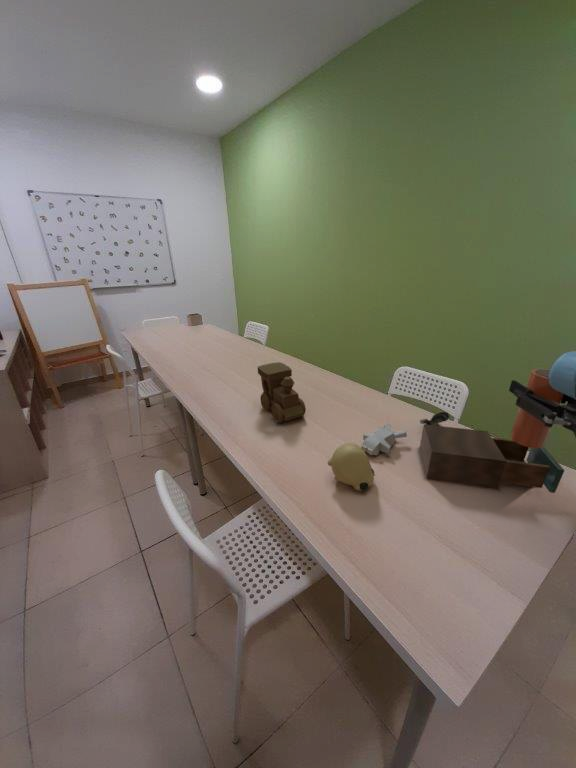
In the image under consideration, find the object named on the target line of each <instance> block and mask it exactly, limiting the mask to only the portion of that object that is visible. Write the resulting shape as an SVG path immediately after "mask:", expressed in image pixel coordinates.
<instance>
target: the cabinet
mask: <svg viewBox="0 0 576 768" xmlns="http://www.w3.org/2000/svg"><path fill="white" fill-rule="evenodd" d="M492 438H493V436H491V434H490V433H489V431H488V430H479V429H471V428H462V427H452V426H442V425H441V426H439V425H437V426H434V425H426V424H423V427H422V432H421V438H420V443H419V453H420V458H421V462H422V466H423V470H424V475H425V478H426V479H427V480H433V481H434V480H435V481H438V482H439V481H440V482H448V483H455V484H460V485H467V486H473V487H481V488H482V487H483V488H489V489H495V490H498V489H499V486H500V484H501V482H500V480H501V477H502V474H503V471H504V468H505V465H506V462H507V461H506V459H505V458H504V456H503V454H502V453H501V451H500V450H499V448H498V447H497V445H496V444H495V442H494V440H493V439H492Z"/></svg>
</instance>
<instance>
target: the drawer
mask: <svg viewBox="0 0 576 768" xmlns="http://www.w3.org/2000/svg"><path fill="white" fill-rule="evenodd" d="M492 439H493V440H494V442H495V444H496V445H497V447H498V448H499V450H500V451H501V453H502V454H503V456H504V458H505V459H506V461H507V462H506V465H505V468H504V471H503V474H502V477H501V480H500V483H504V484H510V485H517V486H525V487H531V488H540V489H543V486H544V487H545V489H546V490H547V491H548V492H549V493H553V494H555V493H556V491H557V489H558V487H559V484H560V482H561V480H562V478H563V475H564V473H565V469H564V467H562V465H561V464H560V463H559V462H558V461H557V460H556V458H555V457H554V456H553V455H552V454H551V452H549V451H548V450H547V449H546V447H545V446H544V447H542V448H530V447H526V446H523V445H521V444H518V443H516V442H515V441H513V440H512V439H511V438H500V437H492ZM529 448H530V449H529ZM528 450H529V452H528ZM527 452H528V455H527ZM525 459H526V460H525Z"/></svg>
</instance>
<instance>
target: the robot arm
mask: <svg viewBox="0 0 576 768" xmlns="http://www.w3.org/2000/svg"><path fill="white" fill-rule="evenodd" d="M549 370H550V373H549V380H550V381H549V383H550V385H551V387H552V388H553V389H555V390H556V391H559V392H561V393H563V394H564V396H563V399H562V401H561V404H560V405H558V404H555V403H553V402H550V401H548V400H546V399H543V398H541V397H538V396H536V395H534V394H533V391H532V390H530V389H528V388H527V387H526V386H525V385H523V384H522V383H520V382H518V381H517V380H514V379H513V380H511V382H510V386H509V389H508V391H509V393H511V394H513V395H514V396H515V397H516V400H515V406H517V407H518V408H519V407H520V408H522V409H523V410H525V411H526V412H528V413H529V414H531V415H532V416H534V417H535V418H537V419H539V420H540V421H541V422H542V423H543V424H544V425H545V426H547V427H551V428H552V427H553V425H560V426H562V427H563V428H564V429H567V430H569V431H571V432H573V435H574V437H575V438H576V350H572V351H567V352H565V353H562V354H561V355H560V356H559V357H558V358H557V359H556V360H555V362H554V363H553V364H552V366H551V368H550V369H549Z"/></svg>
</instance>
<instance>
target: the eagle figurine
mask: <svg viewBox="0 0 576 768" xmlns="http://www.w3.org/2000/svg"><path fill="white" fill-rule="evenodd" d="M449 418H450V414H449V413H448V412H446V411H440V412H438V413H435V414H433V415H432V417H431V418H430V419H428V418H422V419H420V420H419V424H421V425H434V426H442V425H440V424H441V423H443V422H447V421H448V420H449Z"/></svg>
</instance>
